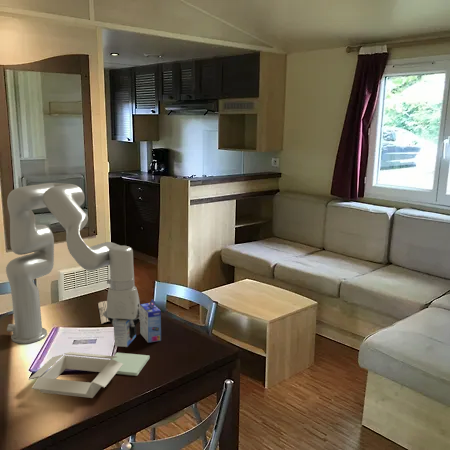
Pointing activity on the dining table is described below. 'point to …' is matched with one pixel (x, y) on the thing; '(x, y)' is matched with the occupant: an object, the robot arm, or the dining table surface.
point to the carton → (76, 388)
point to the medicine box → (122, 332)
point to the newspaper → (102, 309)
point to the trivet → (131, 363)
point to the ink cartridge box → (151, 322)
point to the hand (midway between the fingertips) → (125, 335)
